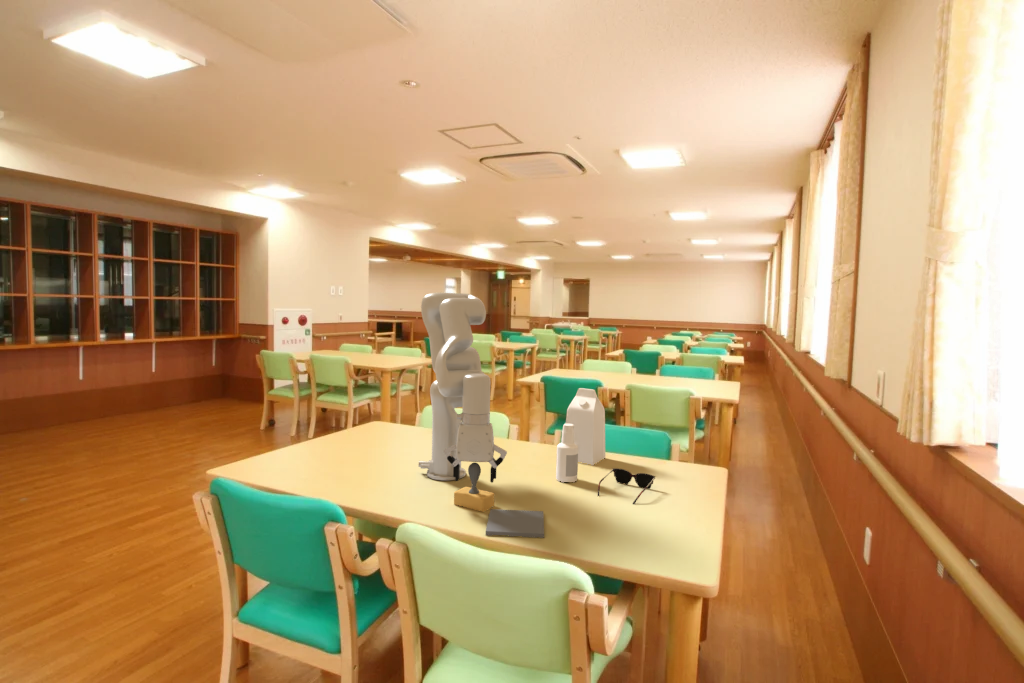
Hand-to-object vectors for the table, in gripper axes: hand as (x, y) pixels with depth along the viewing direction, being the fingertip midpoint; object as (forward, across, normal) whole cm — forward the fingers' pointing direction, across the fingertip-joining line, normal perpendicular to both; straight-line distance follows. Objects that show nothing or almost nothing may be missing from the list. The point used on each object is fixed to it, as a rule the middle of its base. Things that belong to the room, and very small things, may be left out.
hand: (474, 480), depth 144 cm
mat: (+7, +12, -12) cm, 18 cm away
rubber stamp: (+7, 0, 0) cm, 7 cm away
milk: (+7, +35, +50) cm, 61 cm away
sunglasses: (+8, +44, +15) cm, 47 cm away
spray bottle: (+7, +27, +25) cm, 37 cm away
